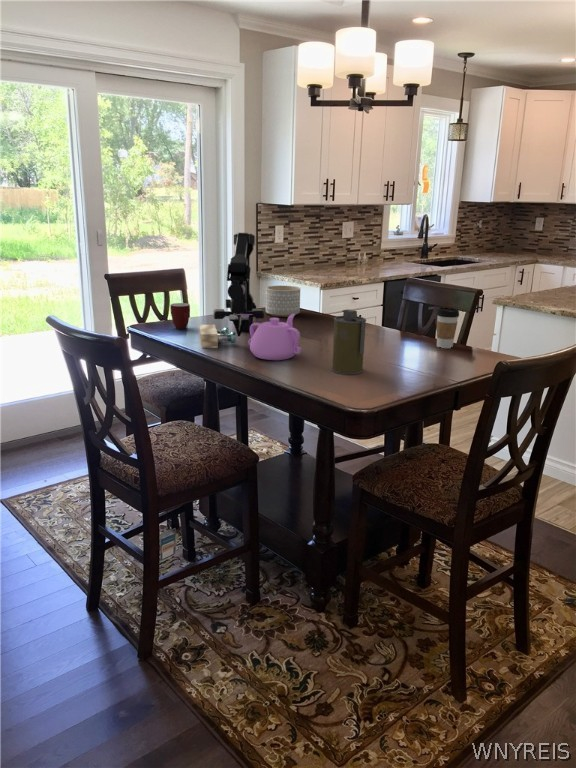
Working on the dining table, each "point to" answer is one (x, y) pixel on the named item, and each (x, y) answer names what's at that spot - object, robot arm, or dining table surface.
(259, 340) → the teapot
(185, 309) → the mug
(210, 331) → the mount
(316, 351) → the dining table surface
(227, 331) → the knob
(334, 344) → the canister
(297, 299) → the planter
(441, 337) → the coffee cup
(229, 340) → the knob
